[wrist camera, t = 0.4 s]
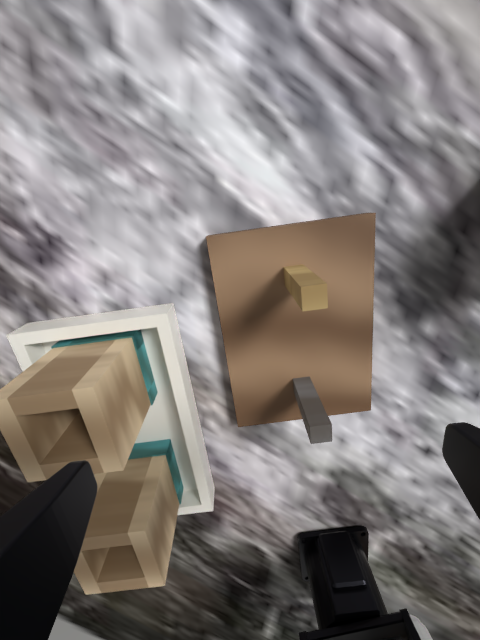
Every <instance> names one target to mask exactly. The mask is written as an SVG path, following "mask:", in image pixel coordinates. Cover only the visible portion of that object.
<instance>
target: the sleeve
mask: <svg viewBox="0 0 480 640" xmlns="http://www.w3.org/2000/svg"><path fill="white" fill-rule="evenodd" d="M94 476H95V479H96V482H97V495H96V499H95V502H94V506H93V509H92V513H91V516H90V520H89V523H88V527H87V530H86V534H85V537H84V541H83V544H82V548H81V551H80V554H79V558H78V561H77V564H76V567H75V569H74V573H75V575H76V577H77V579H78V581H79V583H80V585H81V586H82V588H83V590H84V592H85V594H86V595H88V594H96V593H105V592H114V591H123V590H131V589H140V588H149V587H158V586H165V582H166V576H167V570H168V565H169V559H170V553H171V548H172V542H173V537H174V531H175V525H176V520H177V514H178V509H179V504H181V501H182V495H183V489H184V487H183V483H182V479H181V476H180V472H179V468H178V465H177V461H176V457H175V454H174V450H173V446H172V443H171V439H166V440H158V441H150V442H142V443H135V444H134V446H133V448H132V451H131V453H130V456H129V458H128V461H127V463H126V465H125V468H124V470H123V471H115V472H107V473H99V474H94Z"/></svg>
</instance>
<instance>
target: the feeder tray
mask: <svg viewBox="0 0 480 640" xmlns="http://www.w3.org/2000/svg"><path fill="white" fill-rule="evenodd" d="M140 329H141V333H142V336H143V340H144V344H145V347H146V351H147V355H148V358H149V362H150V366H151V369H152V373H153V377H154V380H155V384H156V388H157V391H158V393H157V396H156V398H155V401H154V403H153V405H150V407H149V410H148V412H147V415H146V417H145V419H144V422H143V424H142V427H141V429H140V432H139V434H138V436H137V439H136V441H135V443H142V442H150V441H158V440H166V439H171V443H172V446H173V450H174V454H175V457H176V461H177V465H178V468H179V472H180V476H181V479H182V483H183V487H184V489H183V495H182V501H181V504H179V509H178V514H177V515H183V514H192V513H200V512H208V511H213V506H214V490H215V487H214V483H213V478H212V474H211V470H210V465H209V461H208V456H207V452H206V447H205V443H204V438H203V434H202V429H201V425H200V420H199V416H198V411H197V407H196V402H195V398H194V393H193V389H192V384H191V380H190V375H189V371H188V366H187V362H186V358H185V353H184V349H183V344H182V340H181V335H180V331H179V326H178V322H177V317H176V313H175V308H174V304H173V303H170V304H162V305H155V306H148V307H140V308H133V309H126V310H119V311H111V312H104V313H97V314H89V315H82V316H75V317H67V318H60V319H53V320H46V321H38V322H31V323H27V324H25V325H23V326H22V327H20V328H18V329H16V330H15V331H13V332H11V333H9V334H7V335H6V336H7V338H8V340H9V342H10V345H11V347H12V349H13V351H14V354H15V356H16V358H17V360H18V362H19V365H20V367H21V369H22V371H25V370H26V369H27V368H28V367H30V366H31V365H32V364H34V363H35V362H36V361H37V360H39V359H40V358H41V357H42V356H44V355H45V354H46V353H48V352H49V351H50V350H51V349H52V348H51V347H52V346H53V345H54V344H55V343H57V342H58V341H59V340H66V339H73V338H81V337H88V336H96V335H103V334H110V333H118V332H125V331H133V330H140Z"/></svg>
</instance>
